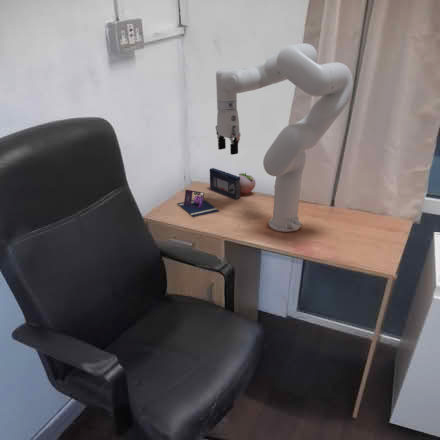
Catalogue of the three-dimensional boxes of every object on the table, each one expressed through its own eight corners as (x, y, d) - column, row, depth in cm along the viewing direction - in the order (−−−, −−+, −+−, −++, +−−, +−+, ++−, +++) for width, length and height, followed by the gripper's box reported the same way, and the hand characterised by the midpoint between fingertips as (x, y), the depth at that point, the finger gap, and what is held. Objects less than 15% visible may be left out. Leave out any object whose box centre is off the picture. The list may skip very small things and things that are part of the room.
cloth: (218, 211, 178) (218, 210, 178) (193, 216, 173) (193, 216, 173) (201, 199, 189) (201, 198, 189) (177, 204, 185) (177, 203, 185)
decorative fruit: (231, 194, 194) (231, 173, 188) (242, 189, 199) (242, 168, 193) (247, 199, 189) (248, 177, 183) (258, 193, 194) (259, 172, 188)
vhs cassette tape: (209, 189, 200) (209, 168, 194) (214, 187, 201) (214, 167, 196) (235, 200, 188) (235, 178, 182) (240, 198, 189) (240, 177, 184)
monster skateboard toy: (184, 189, 180) (203, 192, 176) (190, 189, 184) (208, 192, 181) (183, 205, 182) (201, 208, 178) (188, 205, 186) (206, 208, 183)
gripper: (247, 107, 154) (247, 154, 163) (224, 101, 167) (225, 145, 176) (230, 109, 151) (231, 157, 160) (207, 103, 164) (209, 148, 173)
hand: (228, 151), depth 168 cm, fingers open, 9 cm apart
